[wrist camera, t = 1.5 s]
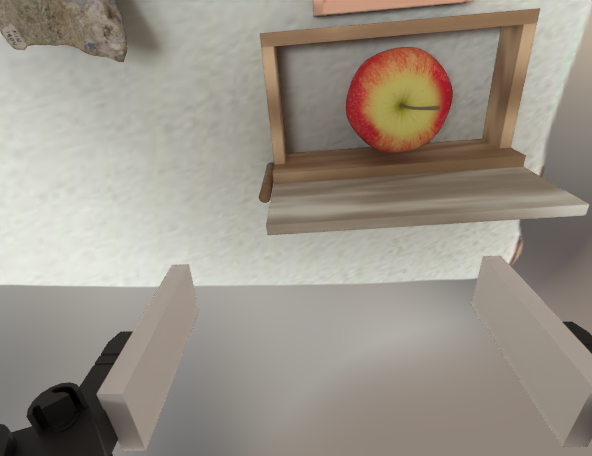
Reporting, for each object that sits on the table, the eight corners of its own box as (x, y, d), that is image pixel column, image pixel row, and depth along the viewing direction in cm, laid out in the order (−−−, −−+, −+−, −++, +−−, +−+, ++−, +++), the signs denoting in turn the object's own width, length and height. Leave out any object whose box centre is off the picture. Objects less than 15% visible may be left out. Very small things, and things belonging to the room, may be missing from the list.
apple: (432, 126, 35) (476, 155, 26) (348, 146, 36) (364, 181, 27) (426, 35, 31) (475, 33, 23) (333, 60, 32) (345, 68, 24)
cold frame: (250, 35, 32) (218, 32, 19) (515, 11, 30) (662, -8, 18) (267, 172, 38) (251, 237, 25) (488, 156, 37) (585, 216, 24)
